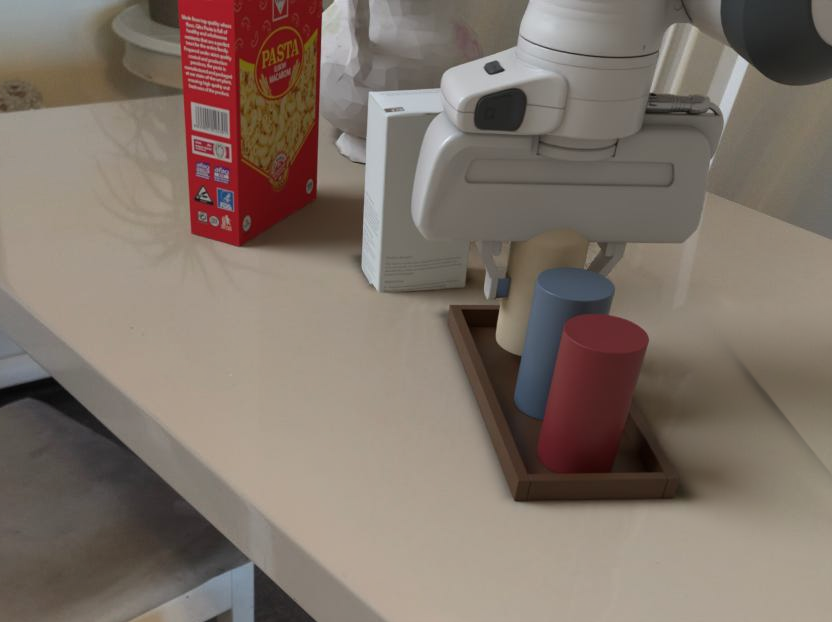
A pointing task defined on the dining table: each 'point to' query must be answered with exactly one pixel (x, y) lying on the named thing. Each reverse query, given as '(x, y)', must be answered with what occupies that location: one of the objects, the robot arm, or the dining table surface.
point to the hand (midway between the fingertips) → (539, 297)
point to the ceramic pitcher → (385, 57)
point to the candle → (534, 279)
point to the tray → (519, 433)
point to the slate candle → (555, 328)
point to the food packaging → (250, 112)
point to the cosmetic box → (402, 199)
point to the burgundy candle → (591, 393)
